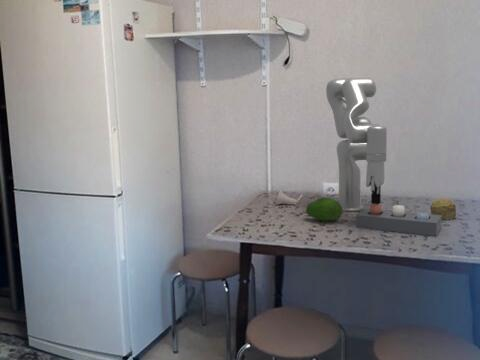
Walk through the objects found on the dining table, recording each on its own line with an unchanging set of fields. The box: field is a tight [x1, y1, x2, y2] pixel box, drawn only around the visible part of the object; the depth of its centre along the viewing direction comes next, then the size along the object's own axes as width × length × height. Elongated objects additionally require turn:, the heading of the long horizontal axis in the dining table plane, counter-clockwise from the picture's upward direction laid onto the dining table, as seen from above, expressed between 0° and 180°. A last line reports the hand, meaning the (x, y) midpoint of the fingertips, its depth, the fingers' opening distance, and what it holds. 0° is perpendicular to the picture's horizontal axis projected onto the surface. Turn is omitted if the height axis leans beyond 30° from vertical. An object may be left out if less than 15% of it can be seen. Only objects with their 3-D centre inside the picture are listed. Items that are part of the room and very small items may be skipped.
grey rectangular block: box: [355, 207, 443, 237], centre depth 192 cm, size 30×12×5 cm, turn 59°
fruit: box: [305, 197, 344, 222], centre depth 205 cm, size 15×10×10 cm, turn 65°
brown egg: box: [369, 202, 382, 215], centre depth 196 cm, size 4×4×5 cm
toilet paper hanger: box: [275, 189, 304, 206], centre depth 244 cm, size 23×10×8 cm, turn 165°
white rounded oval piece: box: [392, 204, 406, 217], centre depth 191 cm, size 4×4×5 cm
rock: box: [429, 197, 457, 221], centre depth 204 cm, size 10×11×10 cm
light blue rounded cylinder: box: [416, 212, 430, 220], centre depth 187 cm, size 4×4×5 cm
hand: (375, 203), depth 195 cm, fingers closed
